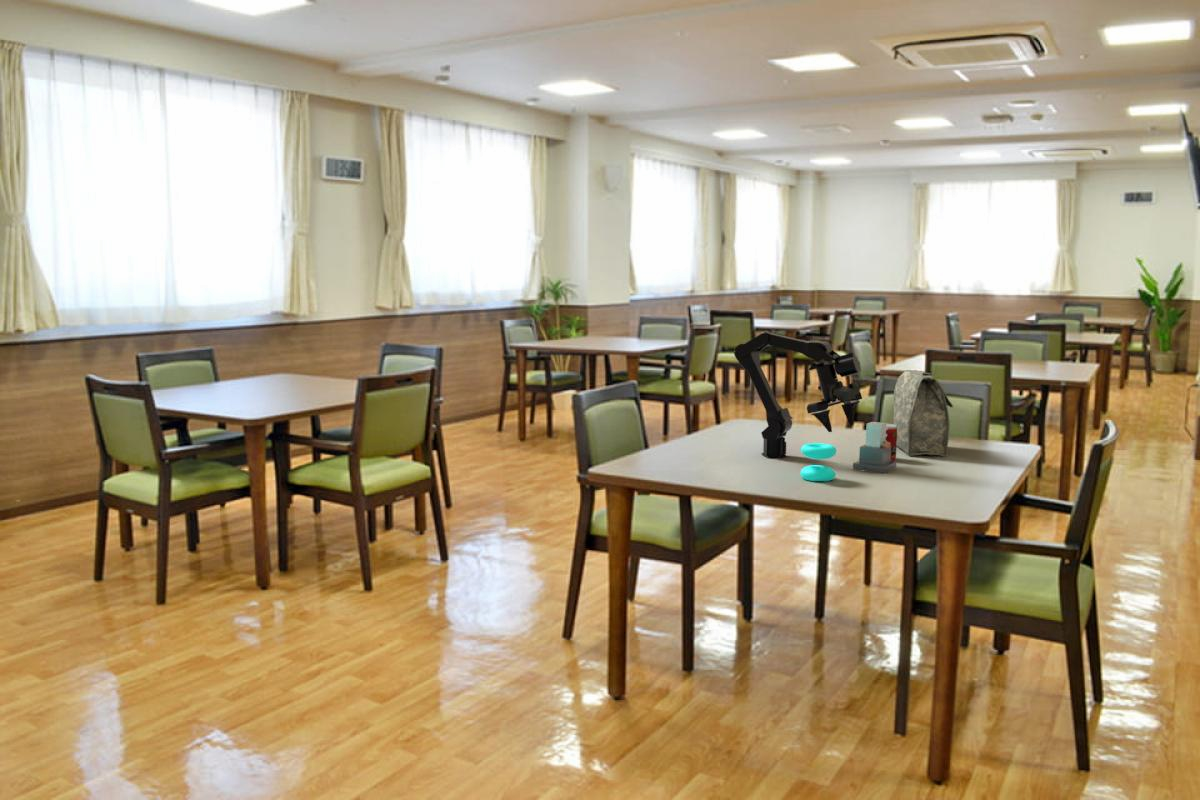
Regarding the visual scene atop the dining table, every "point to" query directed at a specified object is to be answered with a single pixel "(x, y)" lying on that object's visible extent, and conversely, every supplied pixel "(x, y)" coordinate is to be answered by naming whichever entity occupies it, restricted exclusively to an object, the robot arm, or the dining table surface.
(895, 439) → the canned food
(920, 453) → the bag
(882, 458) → the stand base
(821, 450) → the donuts
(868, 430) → the column
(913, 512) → the dining table surface
